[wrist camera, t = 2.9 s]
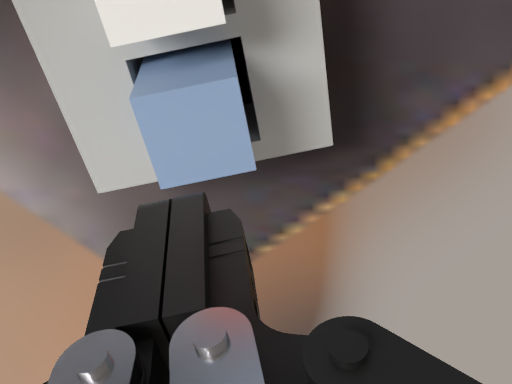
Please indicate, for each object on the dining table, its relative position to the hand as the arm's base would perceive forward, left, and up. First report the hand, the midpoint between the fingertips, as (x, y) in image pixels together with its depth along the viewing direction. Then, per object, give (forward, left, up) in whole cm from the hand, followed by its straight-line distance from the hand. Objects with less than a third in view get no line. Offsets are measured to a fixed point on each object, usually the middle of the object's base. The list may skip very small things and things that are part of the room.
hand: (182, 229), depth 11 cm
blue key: (0, 0, -10) cm, 9 cm away
